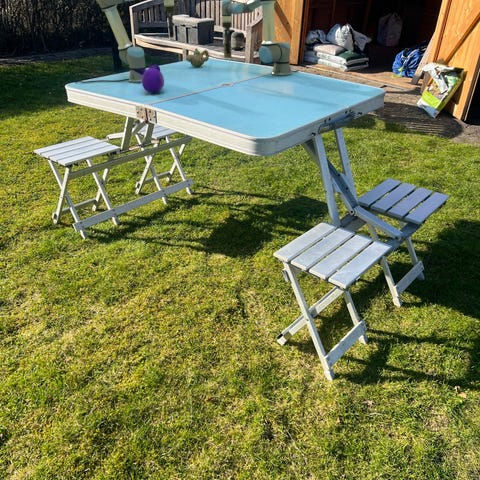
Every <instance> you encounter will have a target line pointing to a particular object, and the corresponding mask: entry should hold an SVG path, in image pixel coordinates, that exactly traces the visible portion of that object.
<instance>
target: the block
mask: <svg viewBox="0 0 480 480" xmlns="http://www.w3.org/2000/svg"><path fill="white" fill-rule="evenodd" d="M225 44H226V42H225V41H223V58H224V59H230V58H232V41H230V44H229V45H230V53H229V54H226V45H225Z"/></svg>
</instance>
